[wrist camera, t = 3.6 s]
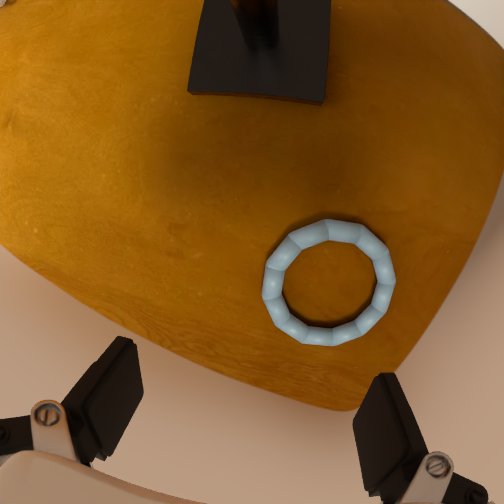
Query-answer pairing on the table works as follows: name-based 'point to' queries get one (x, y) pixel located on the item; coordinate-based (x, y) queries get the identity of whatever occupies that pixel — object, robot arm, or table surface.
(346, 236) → the ring
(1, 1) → the zipper pull
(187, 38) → the table surface
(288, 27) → the post
